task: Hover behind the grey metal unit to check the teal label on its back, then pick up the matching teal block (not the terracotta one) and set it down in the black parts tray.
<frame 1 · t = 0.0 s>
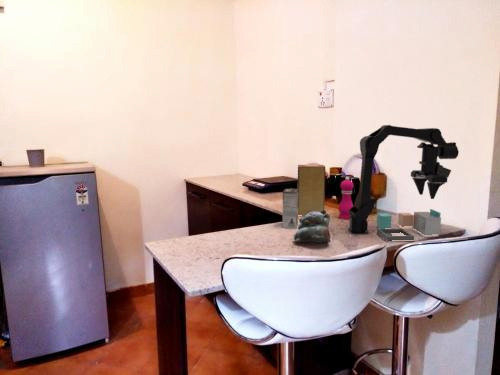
hand: (426, 196, 151), 15 cm above the worktop, tool pointing down, fingers open, 9 cm apart
food packaging: (310, 215, 183), on the worktop
parts tray: (394, 237, 144), on the worktop
pepper mill: (345, 218, 176), on the worktop
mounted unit: (425, 233, 149), on the worktop
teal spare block: (383, 228, 158), on the worktop
coffee box: (290, 226, 163), on the worktop
grey-green lumpy figure: (311, 242, 139), on the worktop
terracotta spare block: (405, 227, 159), on the worktop
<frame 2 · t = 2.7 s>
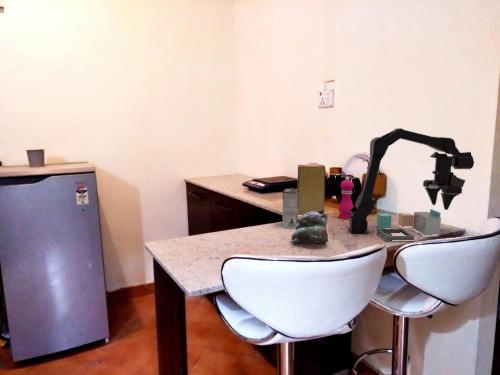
hand: (439, 207, 148), 11 cm above the worktop, tool pointing down, fingers open, 9 cm apart
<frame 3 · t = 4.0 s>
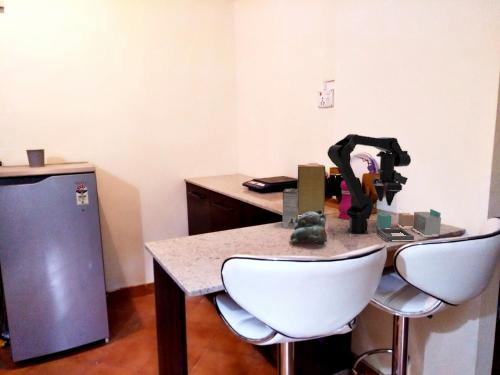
hand: (384, 203, 156), 11 cm above the worktop, tool pointing down, fingers open, 9 cm apart
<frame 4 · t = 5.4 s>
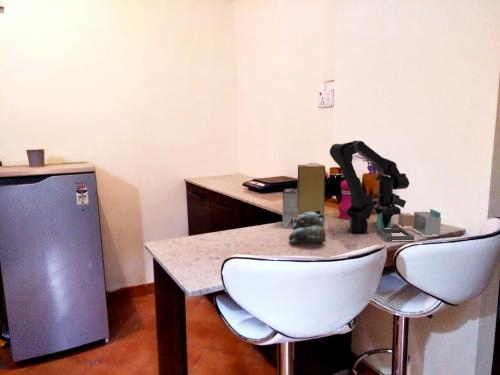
hand: (383, 225, 158), 1 cm above the worktop, tool pointing down, fingers closed on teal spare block, 4 cm apart
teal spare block: (383, 228, 158), on the worktop, touching gripper
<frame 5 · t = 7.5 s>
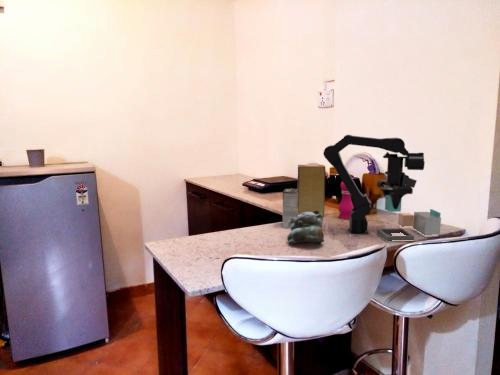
hand: (392, 207, 147), 11 cm above the worktop, tool pointing down, fingers closed on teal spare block, 4 cm apart
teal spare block: (392, 210, 147), point 10 cm above the worktop, touching gripper
when the fingers open (3 cm above the worktop, at t = 9.7 s): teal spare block drops 1 cm, resting on parts tray.
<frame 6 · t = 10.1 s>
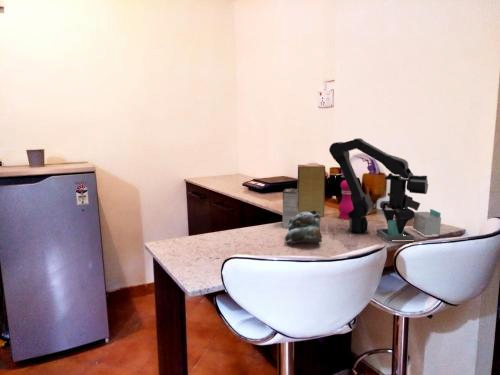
hand: (395, 230, 144), 3 cm above the worktop, tool pointing down, fingers open, 9 cm apart
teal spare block: (395, 236, 144), point 1 cm above the worktop, touching parts tray
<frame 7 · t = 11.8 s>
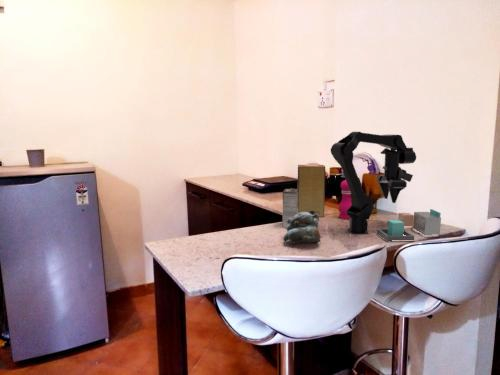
hand: (389, 200, 156), 12 cm above the worktop, tool pointing down, fingers open, 9 cm apart
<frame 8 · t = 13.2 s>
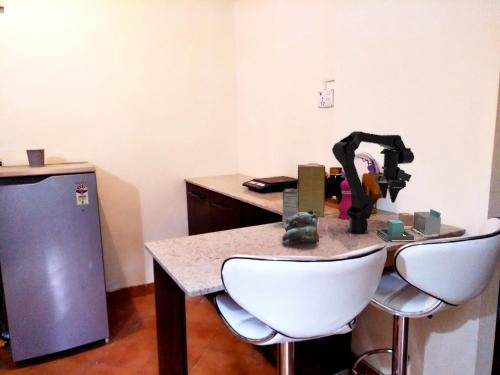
hand: (388, 200, 157), 12 cm above the worktop, tool pointing down, fingers open, 9 cm apart
at the end: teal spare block 0.1 cm off-centre on the parts tray, point 0.6 cm above the parts tray's base; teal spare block tilted 0°; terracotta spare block moved 0.1 cm from its start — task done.
